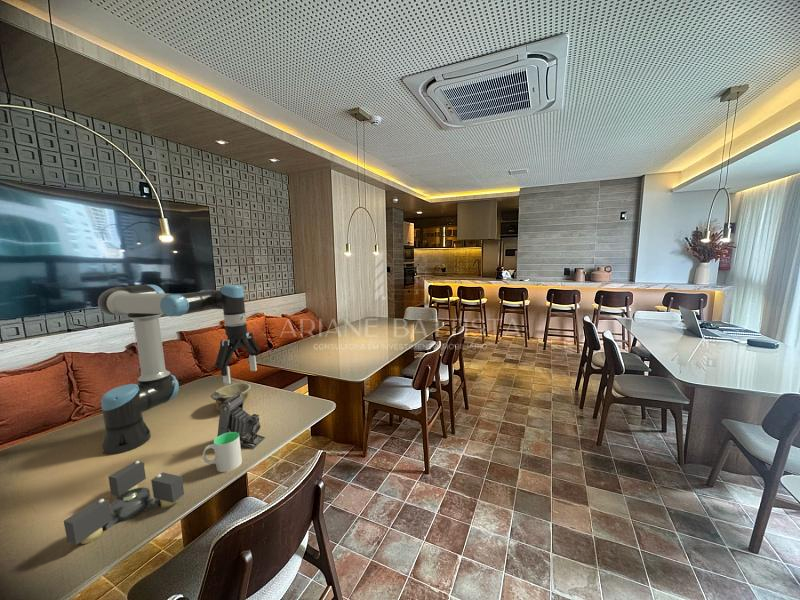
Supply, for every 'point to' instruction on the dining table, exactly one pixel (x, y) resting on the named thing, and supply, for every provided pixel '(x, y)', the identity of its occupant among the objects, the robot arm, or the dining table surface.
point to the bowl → (230, 392)
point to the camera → (239, 421)
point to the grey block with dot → (127, 478)
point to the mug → (226, 452)
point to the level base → (131, 505)
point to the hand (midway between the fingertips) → (241, 376)
